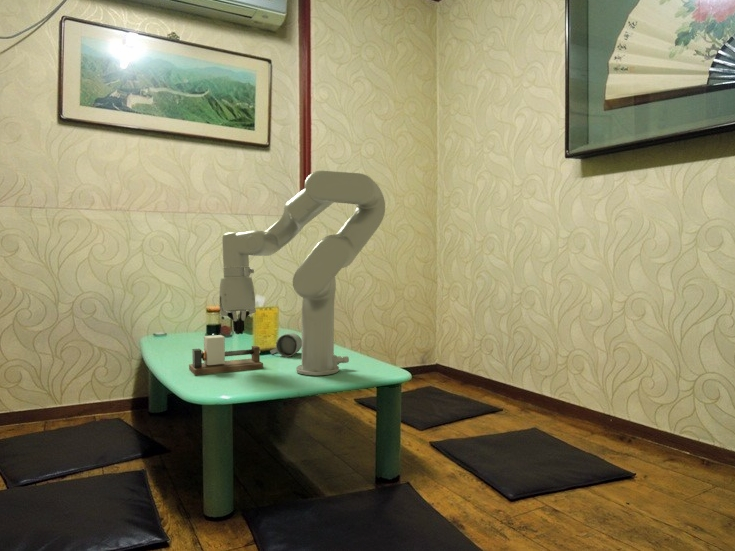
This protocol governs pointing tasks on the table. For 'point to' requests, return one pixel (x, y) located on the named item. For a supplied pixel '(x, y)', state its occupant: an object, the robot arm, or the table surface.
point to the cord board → (230, 365)
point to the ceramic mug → (287, 345)
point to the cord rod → (201, 355)
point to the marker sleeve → (214, 349)
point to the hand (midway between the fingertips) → (238, 333)
